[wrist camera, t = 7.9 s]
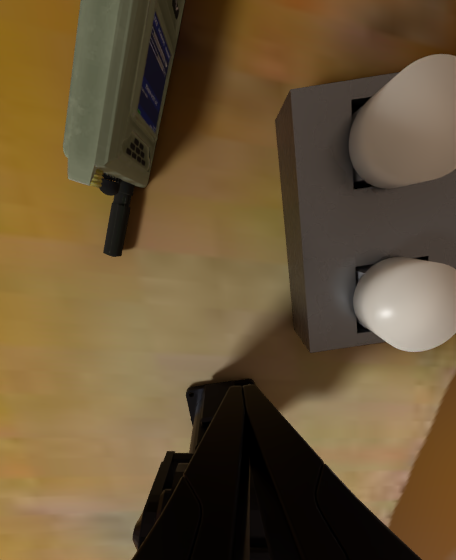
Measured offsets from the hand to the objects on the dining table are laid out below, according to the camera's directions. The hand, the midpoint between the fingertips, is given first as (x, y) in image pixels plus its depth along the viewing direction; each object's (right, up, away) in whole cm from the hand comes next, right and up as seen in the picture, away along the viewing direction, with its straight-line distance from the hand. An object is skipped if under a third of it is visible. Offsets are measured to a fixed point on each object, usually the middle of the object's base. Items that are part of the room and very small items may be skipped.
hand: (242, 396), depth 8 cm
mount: (+10, +8, +11) cm, 18 cm away
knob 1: (+9, +13, +10) cm, 19 cm away
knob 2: (+11, +4, +12) cm, 17 cm away
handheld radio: (-6, +18, +9) cm, 21 cm away
